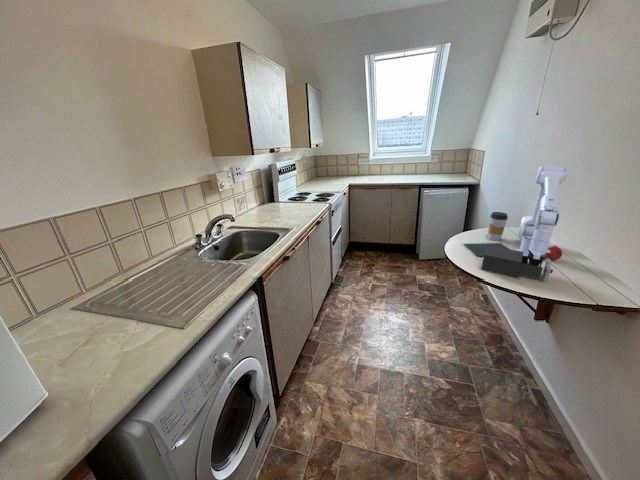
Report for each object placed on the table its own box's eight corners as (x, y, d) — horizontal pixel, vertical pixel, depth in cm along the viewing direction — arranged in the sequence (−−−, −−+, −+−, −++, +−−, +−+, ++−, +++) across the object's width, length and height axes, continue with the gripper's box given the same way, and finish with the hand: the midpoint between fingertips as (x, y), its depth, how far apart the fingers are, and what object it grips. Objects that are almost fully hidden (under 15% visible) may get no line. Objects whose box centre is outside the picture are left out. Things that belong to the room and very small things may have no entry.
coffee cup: (505, 240, 151) (511, 215, 145) (490, 241, 151) (496, 216, 146) (497, 235, 159) (502, 211, 153) (482, 236, 159) (487, 211, 153)
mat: (500, 243, 148) (500, 243, 148) (519, 256, 133) (519, 255, 133) (463, 244, 149) (463, 243, 149) (478, 257, 134) (478, 256, 134)
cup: (538, 245, 144) (546, 220, 139) (524, 246, 144) (530, 221, 138) (526, 239, 152) (532, 215, 147) (512, 240, 152) (518, 216, 146)
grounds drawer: (550, 272, 116) (554, 260, 114) (550, 283, 108) (554, 270, 106) (512, 263, 124) (515, 252, 122) (510, 273, 116) (513, 262, 114)
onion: (551, 257, 131) (555, 242, 128) (562, 262, 126) (568, 246, 122) (540, 258, 130) (545, 243, 127) (552, 263, 125) (557, 248, 122)
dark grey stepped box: (519, 266, 123) (523, 251, 120) (517, 278, 114) (521, 262, 111) (485, 259, 131) (488, 245, 128) (481, 269, 122) (484, 254, 119)
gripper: (553, 247, 102) (543, 277, 107) (553, 235, 113) (544, 263, 118) (530, 243, 106) (522, 272, 111) (532, 232, 117) (524, 260, 122)
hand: (532, 268), depth 115 cm, fingers closed on container, 4 cm apart
